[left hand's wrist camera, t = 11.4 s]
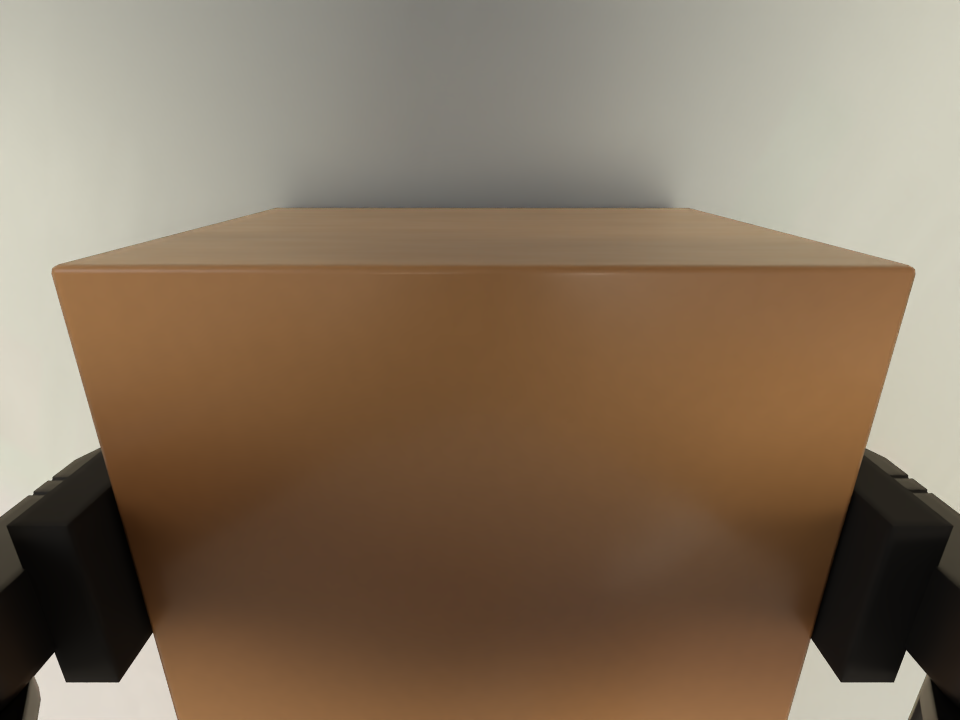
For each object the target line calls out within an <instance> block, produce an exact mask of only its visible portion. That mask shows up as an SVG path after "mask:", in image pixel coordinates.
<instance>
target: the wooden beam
mask: <svg viewBox="0 0 960 720" xmlns="http://www.w3.org/2000/svg"><path fill="white" fill-rule="evenodd" d="M52 277H53V280H54V284H55V287H56V291H57V294H58V298H59V302H60V305H61V309H62V312H63V316H64V319H65V323H66V326H67V330H68V333H69V337H70V340H71V344H72V348H73V351H74V355H75V358H76V362H77V365H78V369H79V372H80V376H81V379H82V383H83V386H84V390H85V393H86V397H87V401H88V404H89V408H90V411H91V415H92V418H93V422H94V425H95V429H96V432H97V436H98V439H99V443H100V447H101V450H102V454H103V457H104V461H105V464H106V468H107V471H108V475H109V478H110V482H111V485H112V489H113V493H114V496H115V500H116V503H117V507H118V510H119V514H120V517H121V521H122V524H123V528H124V531H125V535H126V538H127V542H128V546H129V549H130V553H131V556H132V560H133V563H134V567H135V570H136V574H137V577H138V581H139V584H140V588H141V592H142V595H143V599H144V602H145V606H146V609H147V613H148V616H149V620H150V623H151V627H152V630H153V634H154V638H155V641H156V645H157V648H158V652H159V655H160V659H161V662H162V666H163V669H164V673H165V676H166V680H167V683H168V687H169V691H170V694H171V698H172V701H173V705H174V708H175V712H176V715H177V719H178V720H787V719H788V716H789V712H790V709H791V705H792V702H793V698H794V695H795V691H796V688H797V684H798V681H799V677H800V674H801V670H802V667H803V663H804V660H805V657H806V653H807V650H808V646H809V643H810V639H811V636H812V632H813V629H814V625H815V622H816V618H817V615H818V611H819V608H820V604H821V601H822V597H823V594H824V590H825V587H826V583H827V580H828V577H829V573H830V570H831V566H832V563H833V559H834V556H835V552H836V549H837V545H838V542H839V538H840V535H841V531H842V528H843V524H844V521H845V517H846V514H847V510H848V507H849V503H850V500H851V496H852V493H853V490H854V486H855V483H856V479H857V476H858V472H859V469H860V465H861V462H862V458H863V455H864V451H865V448H866V444H867V441H868V437H869V434H870V430H871V427H872V423H873V420H874V416H875V413H876V410H877V406H878V403H879V399H880V396H881V392H882V389H883V385H884V382H885V378H886V375H887V371H888V368H889V364H890V361H891V357H892V354H893V350H894V347H895V343H896V340H897V336H898V333H899V330H900V326H901V323H902V319H903V316H904V312H905V309H906V305H907V302H908V298H909V295H910V291H911V288H912V284H913V281H914V277H915V269H914V268H913V267H911V266H909V265H906V264H902V263H898V262H894V261H890V260H886V259H882V258H879V257H875V256H871V255H867V254H863V253H859V252H856V251H852V250H848V249H844V248H840V247H836V246H833V245H829V244H825V243H821V242H817V241H813V240H809V239H806V238H802V237H798V236H794V235H790V234H786V233H783V232H779V231H775V230H771V229H767V228H763V227H760V226H756V225H752V224H748V223H744V222H740V221H736V220H733V219H729V218H725V217H721V216H717V215H713V214H710V213H706V212H702V211H698V210H694V209H690V208H274V209H270V210H267V211H263V212H259V213H255V214H251V215H247V216H244V217H240V218H236V219H232V220H228V221H224V222H220V223H217V224H213V225H209V226H205V227H201V228H197V229H193V230H190V231H186V232H182V233H178V234H174V235H170V236H167V237H163V238H159V239H155V240H151V241H147V242H143V243H140V244H136V245H132V246H128V247H124V248H120V249H116V250H113V251H109V252H105V253H101V254H97V255H93V256H90V257H86V258H82V259H78V260H74V261H70V262H66V263H63V264H59V265H57V266H55V267H53V268H52Z"/></svg>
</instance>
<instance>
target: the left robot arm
mask: <svg viewBox="0 0 960 720" xmlns="http://www.w3.org/2000/svg"><path fill="white" fill-rule="evenodd" d="M152 633H153V630H152V627H151V623H150V620H149V616H148V613H147V609H146V606H145V602H144V599H143V595H142V592H141V588H140V584H139V581H138V577H137V574H136V570H135V567H134V563H133V560H132V556H131V553H130V549H129V546H128V542H127V538H126V535H125V531H124V528H123V524H122V521H121V517H120V514H119V510H118V507H117V503H116V500H115V496H114V493H113V489H112V485H111V482H110V478H109V475H108V471H107V468H106V464H105V461H104V457H103V454H102V450H101V448H99V449H97V450H95V451H93V452H91V453H88V454H86V455H84V456H82V457H80V458H78V459H76V460H74V461H73V462H72V463H70V464H69V465H68V466H67V467H65V468H64V469H63V470H61V471H60V472H59V473H57V474H56V475H55V476H53V479H52V481H47V482H46V483H44V484H43V485H42V486H40V487H39V488H38V489H36V490H35V491H34V494H33V495H29V496H27V497H26V498H25V499H23V500H22V501H21V502H19V503H18V504H17V505H15V506H14V507H13V508H12V509H10V510H9V511H8V512H6V513H5V514H4V515H2V516H1V517H0V720H37V719H38V713H39V707H40V701H41V698H40V692H39V687H38V684H37V682H36V679H35V677H34V676H35V674H36V673H37V672H38V671H39V670H40V669H41V667H42V666H43V665H44V664H45V663H46V661H47V660H48V659H49V658H50V657H51V656H52V654H53V653H54V652H55V655H56V657H57V660H58V662H59V665H60V668H61V670H62V673H63V675H64V678H65V681H66V682H120V680H121V679H122V677H123V676H124V674H125V673H126V671H127V670H128V668H129V667H130V665H131V664H132V662H133V661H134V659H135V658H136V656H137V655H138V654H139V652H140V651H141V649H142V648H143V646H144V645H145V643H146V642H147V640H148V639H149V637H150V636H151V634H152ZM811 639H812V640H813V642H814V643H815V645H816V646H817V648H818V649H819V651H820V652H821V654H822V655H823V657H824V658H825V659H826V661H827V662H828V664H829V665H830V667H831V668H832V670H833V671H834V673H835V674H836V676H837V677H838V679H839V680H840V682H894V681H895V678H896V675H897V673H898V670H899V668H900V665H901V662H902V660H903V657H904V655H905V652H906V650H907V651H908V652H909V654H910V655H911V656H912V657H913V658H914V659H915V661H916V662H917V663H918V664H919V665H920V666H921V668H922V669H923V670H924V671H925V672H926V673H927V675H926V677H925V679H924V682H923V684H922V687H921V689H920V692H919V694H918V697H917V699H916V701H915V704H914V706H913V709H912V711H911V714H910V716H909V718H908V720H960V514H959V513H957V512H956V511H955V510H954V509H952V508H951V507H950V506H948V505H947V504H946V503H944V502H943V501H942V500H940V499H939V498H938V497H936V496H935V495H934V494H932V493H927V489H926V488H924V487H923V486H922V485H921V484H919V483H918V482H917V481H915V480H914V479H909V478H908V475H907V474H906V473H905V472H903V471H902V470H901V469H899V468H898V467H897V466H895V465H894V464H893V463H891V462H890V461H889V460H888V459H886V458H885V457H882V456H880V455H878V454H876V453H874V452H872V451H870V450H868V449H866V448H865V451H864V455H863V458H862V462H861V465H860V469H859V472H858V476H857V479H856V483H855V486H854V490H853V493H852V496H851V500H850V503H849V507H848V510H847V514H846V517H845V521H844V524H843V528H842V531H841V535H840V538H839V542H838V545H837V549H836V552H835V556H834V559H833V563H832V566H831V570H830V573H829V577H828V580H827V583H826V587H825V590H824V594H823V597H822V601H821V604H820V608H819V611H818V615H817V618H816V622H815V625H814V629H813V632H812V636H811Z"/></svg>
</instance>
